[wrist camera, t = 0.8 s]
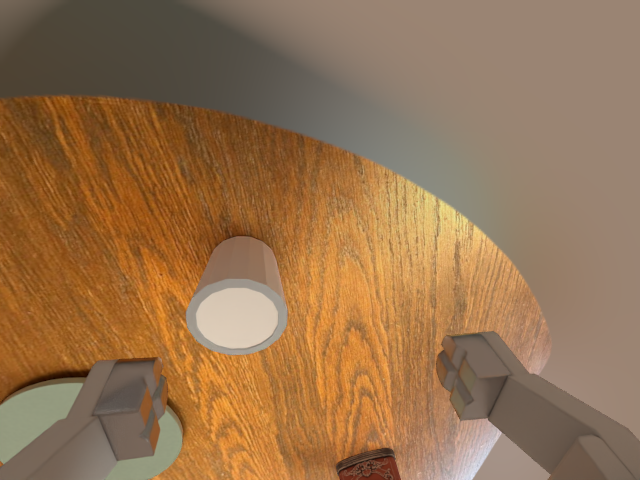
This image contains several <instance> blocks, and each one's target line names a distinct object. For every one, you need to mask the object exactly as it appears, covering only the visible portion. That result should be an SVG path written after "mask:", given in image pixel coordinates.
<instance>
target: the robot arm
mask: <svg viewBox="0 0 640 480" xmlns="http://www.w3.org/2000/svg"><path fill="white" fill-rule="evenodd" d="M441 345H442V347H443V348H444V350H443V351H442V352H441V353H439V354H438V357H437V361H436V370H437V375H438V378H439V380H440V382H441V384H442V386H443V387H444V388H445V389H447V390H448V391H449V392H451V395H450V402H451V404H452V405H453V407H454V409H455V411H456V413H457V415H458V417H459V419H460V421H461V420H473V419H485V418H488V420H489V421H490V422H491V423H492V424H493V425H494V426H496V427H497V428H498V429H499V430H500V431H501V432H502V433H504V434H505V435H506V436H507V437H508V438H509V439H510V440H512V441H513V442H514V443H515V444H517V446H519V447H520V448H521V449H522V450H523V451H524V452H525V453H526V454H528V455H529V456H530V457H531V458H532V459H533V460H534V461H536V462H537V463H538V464H539V465H540V466H541V467H543V468H544V469H545V470H546V471H547V472H548V473H549V474H551V476H550V477H549V479H548V480H640V441H639V440H638V439H637V438H636V437H635V435H634V434H633V433H632V432H631V431H630V430H629V429H628V428H626V427H625V426H623V425H621V424H619V423H618V422H616V421H614V420H613V419H611V418H609V417H608V416H606V415H604V414H602V413H601V412H599V411H597V410H596V409H594V408H592V407H591V406H589V405H587V404H585V403H584V402H582V401H580V400H579V399H577V398H575V397H573V396H572V395H570V394H568V393H567V392H565V391H563V390H562V389H560V388H558V387H556V386H555V385H553V384H551V383H550V382H548V381H546V380H545V379H543V378H541V377H539V376H538V375H536V374H529V372H528V371H527V370H526V369H525V367H524V366H523V365H522V364H521V362H520V361H519V360H518V359H517V357H516V356H515V355H514V354H513V352H512V351H511V350H510V349H509V347H508V346H507V345H506V344H505V342H504V341H503V340H502V339H501V338H500V336H499V335H498V334H497V333H495V332H494V331H489V332H478V333H464V334H453V335H446V336H445V337H444V338H443V340H442V344H441ZM162 369H163V364H162V360H161V358H159V357H152V358H133V359H119V360H100V361H97V362H96V363H95V364H94V365H93V366H92V368H91V370H90V372H89V374H88V376H87V378H86V380H85V382H84V384H83V386H82V388H81V390H80V392H79V394H78V396H77V398H76V400H75V401H74V403H73V405H72V407H71V409H70V411H69V413H68V415H67V417H66V419H60V420H58V421H57V422H55V423H54V424H53V425H52V426H50V427H49V428H48V429H47V430H46V431H44V432H43V433H42V434H41V435H39V436H38V437H37V438H36V439H34V440H33V441H32V442H31V443H30V444H28V445H27V446H26V447H25V448H23V449H22V450H21V451H20V452H19V453H17V454H16V455H15V456H14V457H12V458H11V459H10V460H9V461H8V462H6V463H5V464H4V465H3V466H1V467H0V480H104V479H105V478H106V477H107V476H108V474H109V473H110V472H111V471H112V469H113V468H114V467H115V466H116V465H117V461H121V460H128V459H135V458H142V457H149V456H154V453H155V449H156V445H157V442H158V438H159V434H160V427H159V423H158V420H159V419H160V418H161V417H162V416H163V415H164V414H165V410H166V406H167V399H168V384H167V379H166V377H164V376H163V375H162V374H161V373H162Z"/></svg>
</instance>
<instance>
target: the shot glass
mask: <svg viewBox="0 0 640 480" xmlns="http://www.w3.org/2000/svg"><path fill="white" fill-rule="evenodd" d="M287 313H288V310H287V306H286V301H285V297H284V292H283V288H282V283H281V279H280V274H279V270H278V265H277V261H276V258H275V256H274V254H273V251H272V249H271V248H269V247H268V246H267V245H266V244H265V243H264V242H263V241H261V240H258V239H255V238H253V237H248V236H236V237H233V238H230V239H227V240H224V241H223V242H221V243H220V244H219V245H218V246H217V247H216V248H214V250H213V253H212V255H211V257H210V259H209V261H208V264H207V266H206V268H205V270H204V273H203V275H202V277H201V279H200V282H199V284H198V286H197V288H196V290H195V293H194V295H193V297H192V299H191V302H190V304H189V306H188V308H187V311H186V320H187V328H188V329H189V331H190V332H191V334H192V335H193V337H194V338H195V339H196V341H197V342H199V343H200V344H202V345H204V346H205V347H207V348H208V349H210V350H212V351H216V352H220V353H224V354H228V355H243V354H251V353H254V352H257V351H260V350H263V349H266V348H267V347H268V346H270V345H271V344H272V343H274V342H275V341H276V340H278V339H279V338H280V336H281V334H282V333H283V331H284V329H285V328H286V326H287Z"/></svg>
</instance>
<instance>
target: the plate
mask: <svg viewBox="0 0 640 480" xmlns="http://www.w3.org/2000/svg"><path fill="white" fill-rule="evenodd" d="M85 380H86V378H85V377H75V378H61V379H53V380H48V381H43V382H39V383H36V384H33V385H30V386H27V387H25V388H23V389H20V390H18V391H16V392H15V393H13V394H12V395H10V396H8V397H7V398H6V399H5V400H4V401H2V402H1V403H0V461H1V462H2V463H3V464H5V463H6V462H8V461H9V460H10V459H11V458H12V457H14V456H15V455H16V454H17V453H19V452H20V451H21V450H22V449H23V448H25V447H26V446H27V445H28V444H30V443H31V442H32V441H33V440H34V439H36V438H37V437H38V436H39V435H41V434H42V433H43V432H44V431H46V430H47V429H48V428H49V427H50V426H52V425H53V424H54V423H55V422H57V421H58V420H60V419H66V417H67V415H68V413H69V411H70V409H71V407H72V405H73V403H74V401H75V400H76V398H77V396H78V394H79V392H80V390H81V388H82V386H83V384H84V382H85ZM158 423H159V427H160V434H159V438H158V442H157V445H156V449H155V453H154V456H149V457H142V458H135V459H128V460H121V461H117V465H116V466H115V467H114V468H113V469H112V471H111V472H110V473H109V474H108V476H107V477H106V478H105V479H104V480H148V479H151V478H153V477H155V476H157V475H158V474H160V473H161V472H163V471H164V470H166V469H167V468H168V467H169V466H170V465H171V464H172V463H173V462H174V461H175V460H176V458H177V457H178V455H179V453H180V450H181V447H182V443H183V428H182V425H181V422H180V420H179V418H178V417H177V415H176V413H175V412H174V411H173V410H172V409H171V408H170V407H169V406H168V405H167V406H166V410H165V414H164V415H163V416H162V417H161V418H160V419H159V420H158Z"/></svg>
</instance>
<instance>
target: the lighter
mask: <svg viewBox="0 0 640 480" xmlns="http://www.w3.org/2000/svg"><path fill="white" fill-rule="evenodd" d="M395 460H396V458H395V454H394V451H393V450H392V449H390V448H385V449H379V450H374V451H370V452H366V453H362V454H359V455H356V456H353V457H351V458H348V459H346V460H344V461H341V462H339V463H338V464H337V466H336V469H337V474H338V476H339V479H340V480H401V478H400V475H399V472H398V468H397V465H396V462H395Z"/></svg>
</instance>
